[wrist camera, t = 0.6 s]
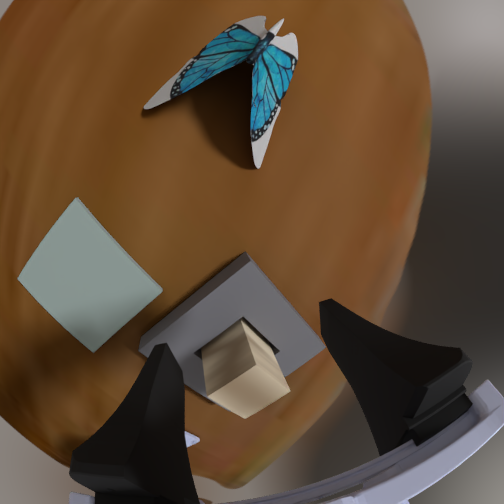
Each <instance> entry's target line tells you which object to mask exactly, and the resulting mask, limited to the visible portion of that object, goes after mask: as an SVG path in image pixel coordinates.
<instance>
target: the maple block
mask: <svg viewBox="0 0 504 504" xmlns="http://www.w3.org/2000/svg"><path fill="white" fill-rule="evenodd" d="M201 352H202V361H203V370H204V378H205V386H206V394H207V397H208V398H210V399H211V400H213V401H215V402H216V403H218V404H220V405H222V406H223V407H225V408H227V409H228V410H230V411H232V412H234V413H236V414H237V415H239V416H241V417H243V418H245V419H246V418H247V417H249V416H251V415H253V414H254V413H256V412H258V411H259V410H261V409H263V408H264V407H266V406H268V405H269V404H271V403H273V402H274V401H276V400H277V399H279V398H281V397H282V396H284V395H285V394H287V393H288V392H290V389H289V387H288V384H287V382H286V380H285V378H284V376H283V373H282V371H281V369H280V367H279V365H278V362H277V360H276V358H275V356H274V353H273V351H272V349H271V347H270V344H269V342H268V340H267V338H266V337H264V336H263V335H262V334H261V333H260V332H259V331H258V330H257V329H256V328H255V327H254V326H253V325H252V324H251V323H250V322H249V321H248V320H247V319H246V318H245V317H244V316H243V317H241V318H240V319H239V320H238V321H236V322H235V323H234V324H232V325H231V326H230V327H228V328H227V329H226V330H224V331H223V332H222V333H220V334H219V335H218V336H216V337H215V338H213V339H212V340H211V341H209V342H208V343H207V344H205V345H204V346H203V347H201Z"/></svg>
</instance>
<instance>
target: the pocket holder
mask: <svg viewBox="0 0 504 504" xmlns="http://www.w3.org/2000/svg"><path fill="white" fill-rule="evenodd" d="M243 316H244V317H245V318H246V319H247V320H248V321H249V322H250V323H251V324H252V325H253V326H254V327H255V328H256V329H257V330H258V331H259V332H260V333H261V334H262V335H263V336H264V337H266V338H267V339H268V340H269V341H270V342H269V344H270V347H271V349H272V351H273V353H274V356H275V358H276V360H277V362H278V365H279V367H280V369H281V371H282V373H283V376H284V377H286V376H287V375H289V374H290V373H292V372H293V371H294V370H296V369H297V368H299V367H300V366H301V365H303V364H304V363H306V362H307V361H308V360H310V359H311V358H312V357H314V356H315V355H316V354H318V353H319V352H320V351H322V350H323V349H324V348H326V347H325V345H324V344H323V342H322V341H321V340H320V338H319V337H318V335H317V334H316V333H315V332H314V331H313V330H312V328H311V327H310V326H309V325H308V324H307V323H306V321H305V320H304V319H303V318H302V317H301V316H300V314H299V313H298V312H297V311H296V310H295V309H294V307H293V306H292V305H291V304H290V303H289V302H288V300H287V299H286V298H285V297H284V296H283V295H282V293H281V292H280V291H279V290H278V289H277V288H276V286H275V285H274V284H273V283H272V282H271V281H270V280H269V278H268V277H267V276H266V275H265V274H264V272H263V271H262V270H261V269H260V268H259V267H258V265H257V264H256V263H255V262H254V261H253V260H252V258H251V257H250V256H249V255H248V254H247V253H246V251H245V252H244V253H243V254H242V255H240V256H239V257H238V258H237V259H235V260H234V261H233V262H232V263H231V264H229V265H228V266H227V267H226V268H224V269H223V270H222V271H221V272H219V273H218V274H217V275H216V276H215V277H213V278H212V279H211V280H210V281H208V282H207V283H206V284H205V285H204V286H202V287H201V288H200V289H199V290H197V291H196V292H195V293H194V294H192V295H191V296H190V297H189V298H188V299H186V300H185V301H184V302H183V303H181V304H180V305H179V306H178V307H177V308H175V309H174V310H173V311H172V312H170V313H169V314H168V315H167V316H166V317H164V318H163V319H162V320H161V321H159V322H158V323H157V324H156V325H155V326H153V327H152V328H151V329H150V330H149V331H147V332H146V333H145V334H144V335H142V336H141V339H140V345H139V350H138V351H139V352H141V353H142V354H143V355H145V356H146V357H147V358H148V357H149V355H150V353H151V351H152V349H153V348H154V346H155V345H157V344H162V343H167V344H168V346H169V348H170V349H171V351H172V353H173V355H174V357H175V358H176V360H177V362H178V364H179V366H180V367H181V369H182V371H183V379H184V384H185V385H187V386H188V387H190V388H192V389H193V390H195V391H196V392H198V393H199V394H201V395H203V396H204V397H206V398H207V399H209V400H211V399H210V398H208V397H207V394H206V386H205V378H204V370H203V361H202V352H201V347H203V346H204V345H205V344H207V343H208V342H209V341H211V340H212V339H213V338H215V337H216V336H218V335H219V334H220V333H222V332H223V331H224V330H226V329H227V328H228V327H230V326H231V325H232V324H234V323H235V322H236V321H238V320H239V319H240V318H241V317H243ZM211 401H212V402H214V403H216V402H215V401H213V400H211ZM216 404H218V403H216ZM218 405H219V406H221V407H223V406H222V405H220V404H218ZM223 408H224V409H226V410H228V409H227V408H225V407H223ZM228 411H230V410H228Z"/></svg>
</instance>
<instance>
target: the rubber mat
mask: <svg viewBox="0 0 504 504" xmlns="http://www.w3.org/2000/svg"><path fill="white" fill-rule="evenodd" d="M18 280H19V281H20V282H21V283H22V285H23V286H24V287H25V288H26V289H27V290H28V291H29V292H30V294H31V295H32V296H33V297H34V298H35V299H36V300H37V301H38V302H39V303H40V304H41V305H42V306H43V307H44V308H45V309H46V310H47V311H48V312H49V313H50V314H51V315H52V316H53V317H54V318H55V319H56V320H57V321H58V322H59V323H60V324H61V325H62V326H63V327H64V328H65V329H66V330H67V331H69V332H70V333H71V334H72V335H73V336H74V337H75V338H76V339H78V340H79V341H80V342H81V343H82V344H83V345H85V346H86V347H87V348H88V349H89V350H91V351H92V352H93V353H94V352H95V351H96V350H97V349H98V348H99V347H100V346H101V345H103V344H104V343H105V342H106V341H107V340H108V339H109V338H110V337H111V336H112V335H114V334H115V333H116V332H117V331H118V330H119V329H120V328H121V327H123V326H124V325H125V324H126V323H127V322H128V321H129V320H130V319H132V318H133V317H134V316H135V315H136V314H137V313H138V312H140V311H141V310H142V309H143V308H144V307H145V306H146V305H148V304H149V303H150V302H151V301H152V300H153V299H154V298H156V297H157V296H158V295H159V294H160V293H161V292H162V291H163V289H162V288H161V287H160V286H159V285H158V284H157V283H156V282H155V281H154V280H153V279H152V278H151V277H150V276H149V275H148V274H147V273H146V272H145V271H144V270H143V269H142V268H141V267H140V266H139V265H138V264H137V263H136V262H135V261H134V260H133V259H132V258H131V257H130V256H129V254H128V253H127V252H126V251H125V250H124V249H123V248H122V247H121V246H120V245H119V244H118V243H117V242H116V241H115V240H114V238H113V237H112V236H111V235H110V234H109V233H108V232H107V231H106V230H105V229H104V227H103V226H102V225H101V224H100V223H99V222H98V221H97V219H96V218H95V217H94V216H93V215H92V214H91V213H90V211H89V210H88V209H87V208H86V207H85V205H84V204H83V203H82V202H81V201H80V200H79V198H78V197H77V198H75V199H74V200H73V202H72V203H71V204H70V205H69V206H68V208H67V209H66V210H65V211H64V213H63V214H62V215H61V216H60V218H59V219H58V220H57V222H56V223H55V224H54V225H53V227H52V228H51V229H50V231H49V232H48V233H47V235H46V236H45V238H44V239H43V240H42V242H41V243H40V245H39V246H38V248H37V249H36V250H35V252H34V253H33V255H32V256H31V258H30V259H29V261H28V263H27V264H26V266H25V267H24V269H23V270H22V272H21V274H20V275H19V277H18Z"/></svg>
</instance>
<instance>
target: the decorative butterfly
mask: <svg viewBox="0 0 504 504" xmlns="http://www.w3.org/2000/svg"><path fill="white" fill-rule="evenodd" d="M265 21H266V17H265V16H256V17H252V18H248V19H245V20H242V21H239V22H237V23H235V24H233V25H232V26H230V27H229V28H227V29H226V30H225V31H223V32H222V33H221V34H220V35H218V36H217V37H216V38H215V39H213V40H212V41H211V42H210V43H209V44H207V45H206V46H205V47H204V48H203V49H202V50H201V52H200V55H198V56H195V57H193V58H191V59H190V60H189V61H188V62H187V63H186V64H185V65H184V67H183V68H182V69H181V70H180V71H179V72H178V73H177V74H176V75H174V76H173V77H172V78H171V79H170V80H169V81H168V82H167V83H166V84H165V85H164V86H163V87H162V88H161V89H160V90H159V91H158V92H157V93H156V94H155V95H154V96H153V97H152V98H151V99H150V100H149V101H148V102H147V104H146V105H145V106H144V109H150V108H153V107H155V106H157V105H160V104H162V103H164V102H166V101H168V100H170V99H172V98H174V97H176V96H178V95H180V94H182V93H184V92H186V91H188V90H190V89H192V88H193V87H195V86H197V85H199V84H200V83H202V82H204V81H205V80H207V79H209V78H210V77H212V76H214V75H216V74H218V73H220V72H222V71H224V70H226V69H229V68H231V67H233V66H235V65H237V64H239V63H241V62H243V61H245V59H246V62H247V63H249V64H253V67H254V68H253V72H252V105H251V142H252V151H253V158H254V163H255V166H256V167H257V168H260V166H261V163H262V160H263V157H264V154H265V151H266V148H267V145H268V142H269V139H270V136H271V133H272V129H273V126H274V123H275V120H276V118H277V116H278V114H279V111H280V108H281V101H280V100H281V99H282V98H283V97H284V96H285V94H286V91H287V88H288V86H289V83H290V80H291V78H292V75H293V72H294V69H295V66H296V64H297V61H298V46H297V40H296V36H295V34H293V33H289V34H287V35H286V36H284V37H279V36H275V35H276V34H277V32H278V30H279V29H280V27H281V25H282V23H283V21H284V19H282V20H280V21H279V22H278V23H276V24H275V25H274V26H273V27H272V28H271V29H270V30H269V31H268V32H267V30H266V29H265V27H264V24H265ZM254 63H255V64H254Z"/></svg>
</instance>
